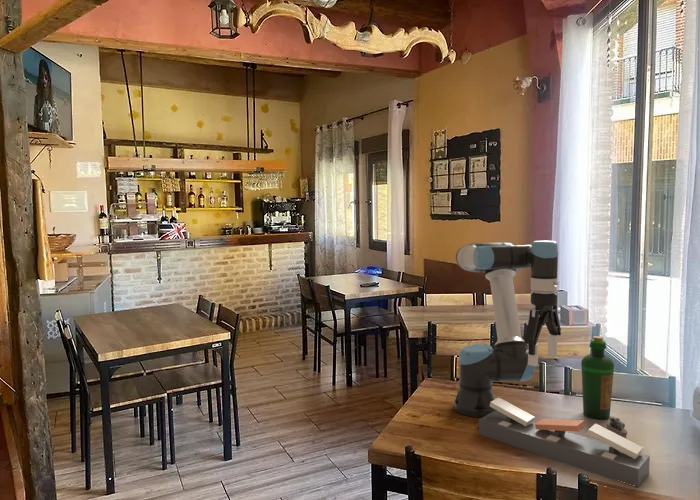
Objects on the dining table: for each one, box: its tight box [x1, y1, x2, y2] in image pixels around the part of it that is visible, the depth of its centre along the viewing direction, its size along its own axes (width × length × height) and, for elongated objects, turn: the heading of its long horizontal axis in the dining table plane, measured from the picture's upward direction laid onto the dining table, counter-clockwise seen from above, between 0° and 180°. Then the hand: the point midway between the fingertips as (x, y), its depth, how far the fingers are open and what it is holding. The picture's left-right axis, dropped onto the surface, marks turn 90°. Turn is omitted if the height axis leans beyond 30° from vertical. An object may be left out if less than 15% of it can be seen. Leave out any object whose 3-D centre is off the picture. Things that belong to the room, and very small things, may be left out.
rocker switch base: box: [477, 411, 651, 488], centre depth 155 cm, size 50×10×7 cm, turn 45°
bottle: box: [580, 335, 615, 420], centre depth 181 cm, size 11×11×28 cm
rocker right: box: [586, 423, 644, 459], centre depth 144 cm, size 13×5×2 cm, turn 45°
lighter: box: [605, 415, 628, 439], centre depth 155 cm, size 8×3×10 cm, turn 5°
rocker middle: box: [535, 418, 586, 432], centre depth 155 cm, size 13×5×2 cm, turn 45°
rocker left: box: [490, 397, 536, 426], centre depth 166 cm, size 13×5×2 cm, turn 45°
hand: (542, 360), depth 158 cm, fingers open, 13 cm apart
